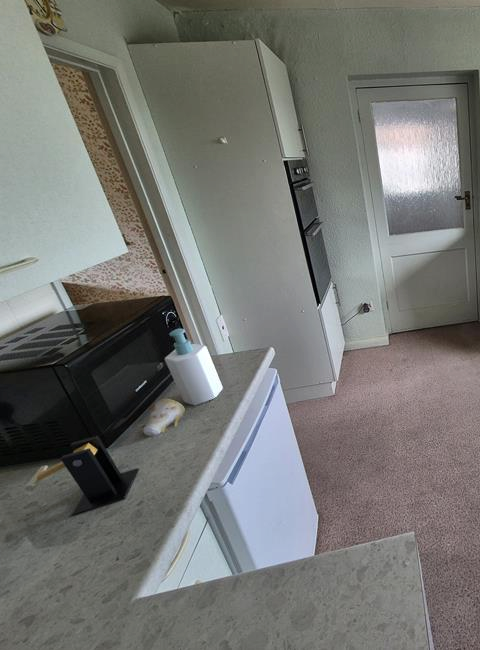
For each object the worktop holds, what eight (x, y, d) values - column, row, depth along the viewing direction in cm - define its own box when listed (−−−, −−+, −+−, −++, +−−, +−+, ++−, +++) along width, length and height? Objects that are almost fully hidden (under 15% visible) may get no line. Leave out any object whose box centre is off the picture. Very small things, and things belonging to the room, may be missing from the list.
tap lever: (31, 493, 75) (20, 486, 74) (46, 473, 80) (36, 466, 79) (89, 462, 77) (80, 455, 76) (101, 444, 82) (92, 437, 81)
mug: (137, 443, 99) (132, 404, 100) (174, 432, 108) (169, 397, 109) (157, 439, 97) (152, 400, 98) (194, 429, 106) (189, 393, 107)
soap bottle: (221, 382, 122) (197, 320, 113) (224, 395, 115) (198, 331, 106) (184, 395, 117) (155, 331, 108) (184, 410, 110) (153, 343, 101)
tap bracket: (75, 519, 78) (39, 470, 73) (94, 487, 86) (63, 440, 80) (127, 502, 81) (97, 454, 76) (141, 472, 89) (114, 426, 83)
